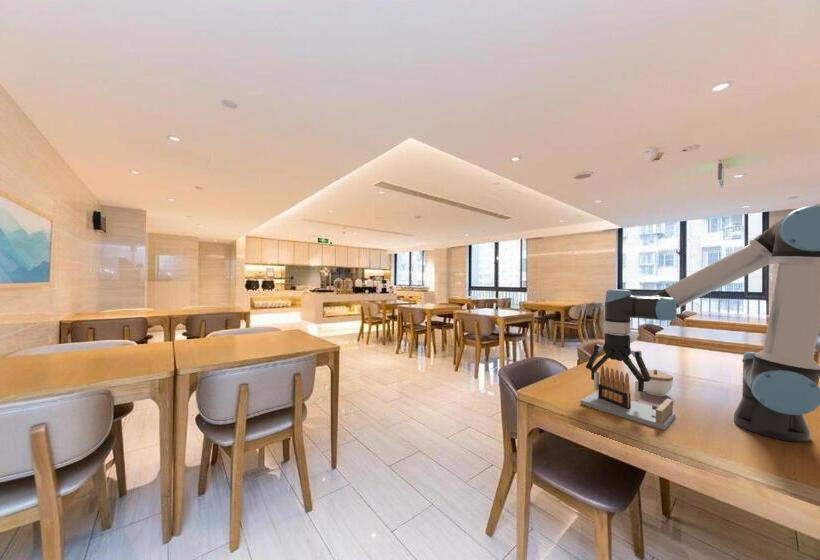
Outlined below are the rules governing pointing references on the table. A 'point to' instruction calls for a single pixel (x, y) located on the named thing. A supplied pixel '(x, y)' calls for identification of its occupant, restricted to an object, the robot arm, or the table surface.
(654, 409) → the wall board
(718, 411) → the table surface
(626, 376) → the ammunition clip
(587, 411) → the table surface
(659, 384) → the lidded jar
